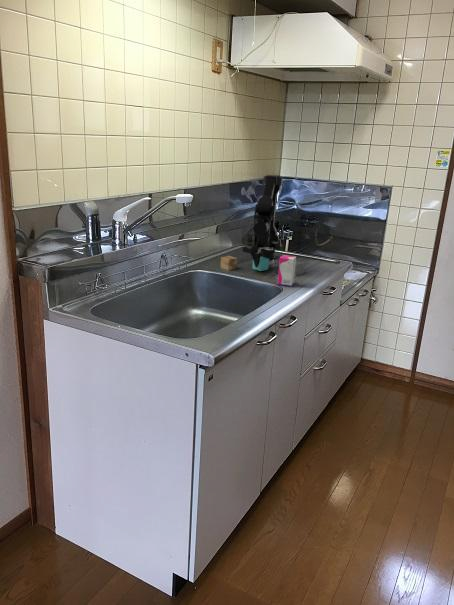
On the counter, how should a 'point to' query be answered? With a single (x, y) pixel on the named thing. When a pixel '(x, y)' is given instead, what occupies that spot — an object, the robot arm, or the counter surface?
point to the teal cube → (262, 264)
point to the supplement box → (286, 270)
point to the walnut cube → (228, 263)
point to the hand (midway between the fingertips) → (260, 266)
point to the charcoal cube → (299, 268)
